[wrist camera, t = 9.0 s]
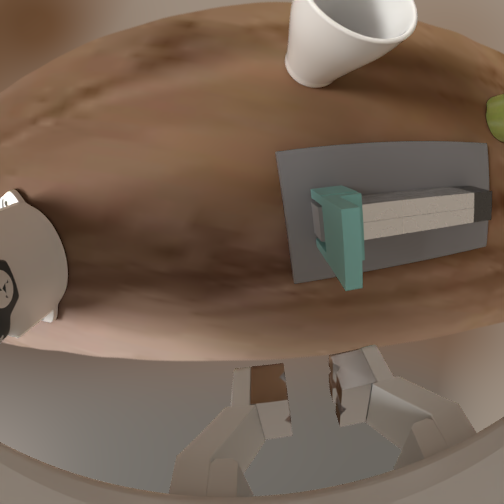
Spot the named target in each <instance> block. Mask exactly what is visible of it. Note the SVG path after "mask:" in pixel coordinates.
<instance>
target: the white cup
mask: <svg viewBox="0 0 504 504" xmlns="http://www.w3.org/2000/svg"><path fill="white" fill-rule="evenodd" d="M417 20H418V14H417V8H416V5H415V2H414V0H292V5H291V11H290V21H289V35H288V46H287V52H286V56H285V65H286V68H287V71H288V73H289V74H290V75H291V77H292V78H293V79H294V80H295V81H297V82H298V83H300V84H302V85H304V86H307V87H312V88H319V87H324V86H327V85H329V84H331V83H332V82H333V81H335V80H336V79H338V78H340V77H342V76H344V75H346V74H348V73H350V72H352V71H354V70H356V69H358V68H360V67H362V66H365V65H367V64H369V63H371V62H373V61H375V60H377V59H378V58H380V57H382V56H383V55H385V54H386V53H388V52H389V51H391V50H392V49H394V48H395V47H396V46H398V45H399V44H400V43H401V42H403V41H404V40H405V39H407V38H408V37H409V36H410V35H411V34H412V33H413V31H414V30H415V28H416V25H417Z"/></svg>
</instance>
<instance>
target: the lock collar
mask: <svg viewBox="0 0 504 504" xmlns="http://www.w3.org/2000/svg"><path fill="white" fill-rule="evenodd" d="M310 190H311V198H312V199H314V200H315V201H316V202H318V203H319V204H320V205H322V212H323V222H324V233H325V241H324V242H321V241H320V239H319V238H316V244H317V248H318V249H319V251H320V252H321V254H322V255H323V257H324V258H325V260H326V262H327V263H328V264H329V266H330V267H331V269H332V270H333V272H334V273H335V275H336V277H337V278H338V280H339V281H340V283H341V284H342V286H343V288H344V289H345V291H349V290H354V289H359V288H363V275H362V260H365V249H364V225H363V209H362V196H361V193H359V192H357V191H355V190H353V189H350V188H347V187H345V186H342V185H340V186H332V187H323V188H316V189H310Z"/></svg>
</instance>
